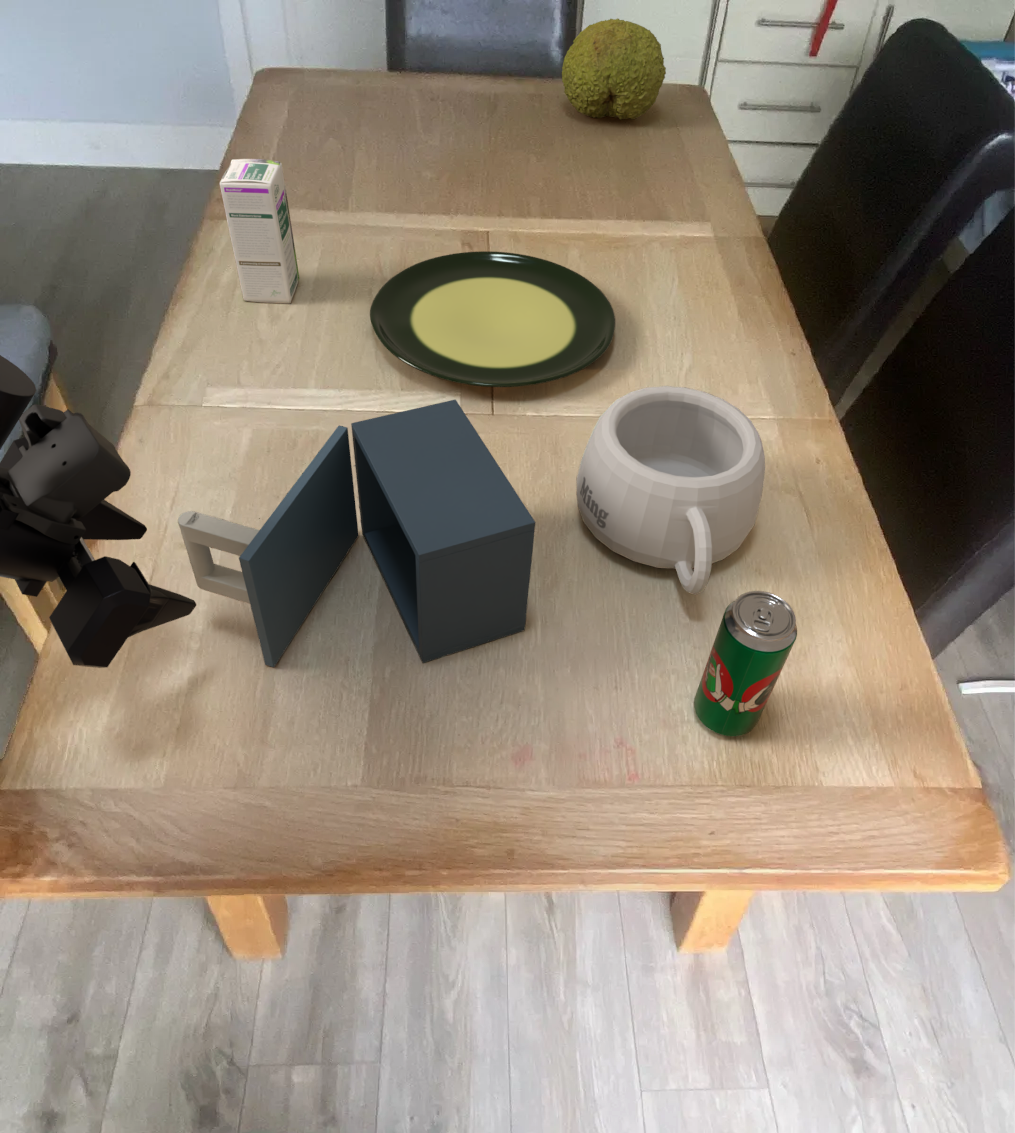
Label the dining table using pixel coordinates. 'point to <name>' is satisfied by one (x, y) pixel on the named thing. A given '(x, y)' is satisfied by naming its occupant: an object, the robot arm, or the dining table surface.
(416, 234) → the dining table surface
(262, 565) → the cabinet door
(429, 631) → the cabinet
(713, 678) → the soda can
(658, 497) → the mug
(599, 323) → the plate
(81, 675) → the dining table surface
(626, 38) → the fruit
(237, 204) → the syrup box
